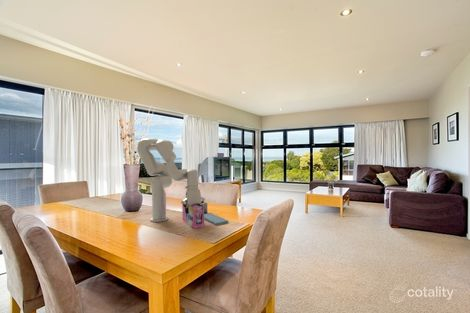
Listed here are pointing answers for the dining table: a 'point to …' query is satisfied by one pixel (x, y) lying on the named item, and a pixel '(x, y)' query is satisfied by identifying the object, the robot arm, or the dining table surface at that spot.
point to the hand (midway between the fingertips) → (193, 212)
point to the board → (214, 219)
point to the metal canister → (205, 208)
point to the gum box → (194, 215)
